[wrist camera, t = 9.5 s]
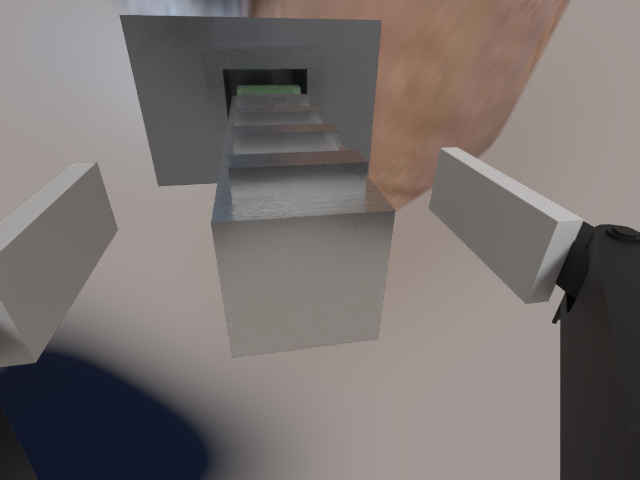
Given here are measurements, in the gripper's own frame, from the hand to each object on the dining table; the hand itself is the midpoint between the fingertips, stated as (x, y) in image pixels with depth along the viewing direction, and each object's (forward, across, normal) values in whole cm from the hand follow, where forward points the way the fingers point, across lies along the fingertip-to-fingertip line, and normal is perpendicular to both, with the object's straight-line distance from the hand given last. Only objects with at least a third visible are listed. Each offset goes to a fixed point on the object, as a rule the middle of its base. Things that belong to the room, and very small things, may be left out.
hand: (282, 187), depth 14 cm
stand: (+18, 0, 0) cm, 18 cm away
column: (+9, 0, 0) cm, 9 cm away
